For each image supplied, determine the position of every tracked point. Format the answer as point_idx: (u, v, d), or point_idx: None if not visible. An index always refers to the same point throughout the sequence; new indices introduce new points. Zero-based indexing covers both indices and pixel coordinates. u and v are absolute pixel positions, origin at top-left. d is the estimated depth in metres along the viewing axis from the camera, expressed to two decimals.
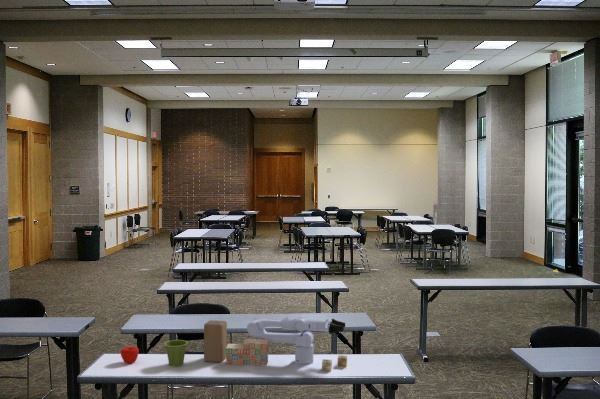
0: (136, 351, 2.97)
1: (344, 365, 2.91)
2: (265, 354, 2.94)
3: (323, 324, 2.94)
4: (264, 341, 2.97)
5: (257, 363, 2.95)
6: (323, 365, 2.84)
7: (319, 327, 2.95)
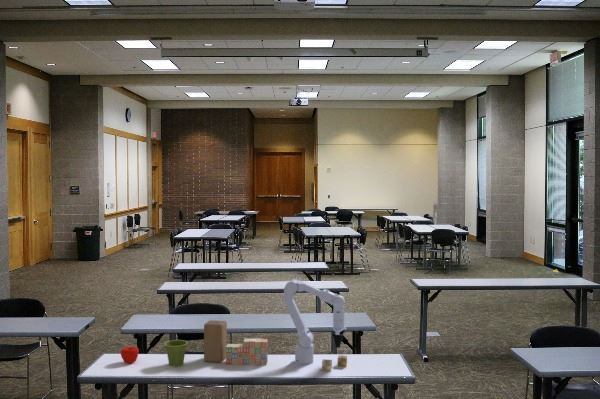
0: (136, 351, 2.97)
1: (344, 365, 2.91)
2: (265, 352, 2.96)
3: (340, 326, 2.93)
4: (264, 340, 2.99)
5: (257, 362, 2.96)
6: (323, 365, 2.84)
7: (337, 322, 2.93)
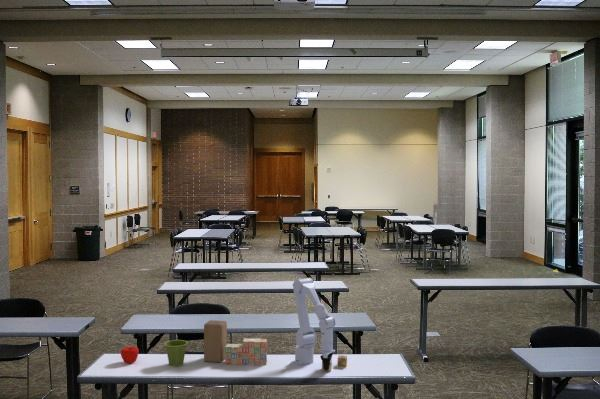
0: (136, 351, 2.97)
1: (344, 365, 2.91)
2: (264, 352, 2.96)
3: (329, 348, 2.83)
4: (263, 340, 2.99)
5: (256, 362, 2.96)
6: None
7: (325, 344, 2.83)
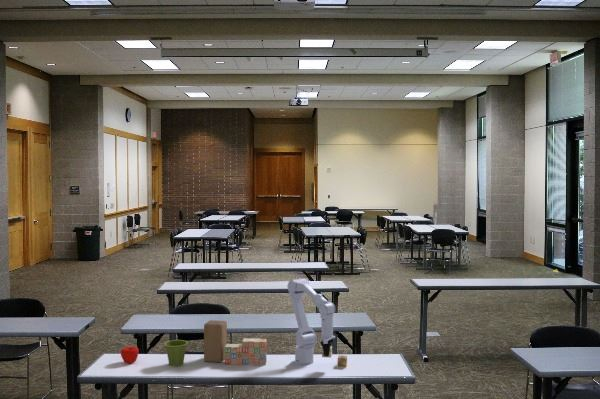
0: (136, 351, 2.97)
1: (344, 365, 2.91)
2: (264, 352, 2.96)
3: (329, 334, 2.83)
4: (263, 340, 2.99)
5: (256, 362, 2.96)
6: None
7: (325, 330, 2.83)
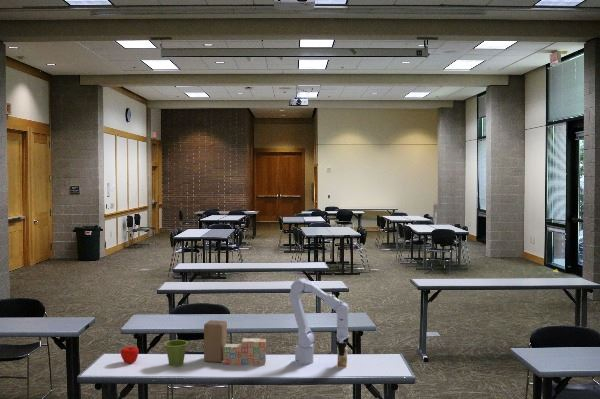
0: (136, 351, 2.97)
1: (344, 365, 2.91)
2: (263, 352, 2.96)
3: (344, 334, 2.90)
4: (262, 340, 2.99)
5: (255, 362, 2.96)
6: None
7: (341, 330, 2.90)
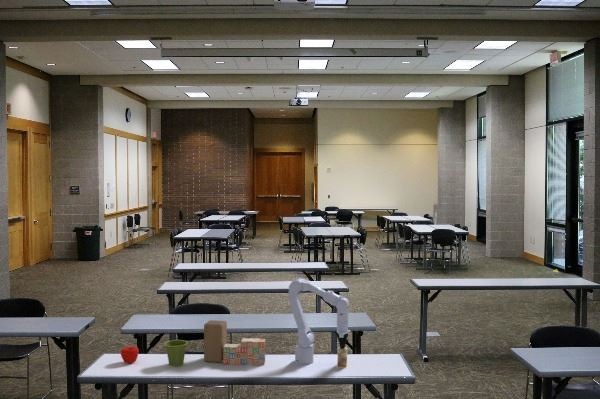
0: (136, 351, 2.97)
1: (344, 365, 2.91)
2: (263, 352, 2.96)
3: (344, 328, 2.90)
4: (262, 340, 2.99)
5: (255, 362, 2.96)
6: (339, 352, 2.91)
7: (341, 324, 2.90)
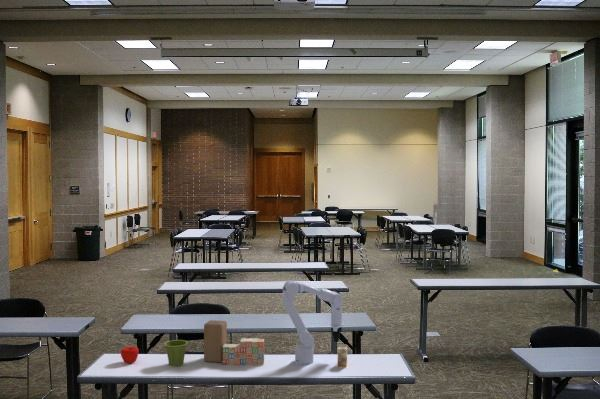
0: (136, 351, 2.97)
1: (344, 365, 2.91)
2: (262, 352, 2.96)
3: (338, 322, 2.99)
4: (261, 340, 2.99)
5: (254, 362, 2.96)
6: (339, 352, 2.91)
7: (335, 319, 2.99)
